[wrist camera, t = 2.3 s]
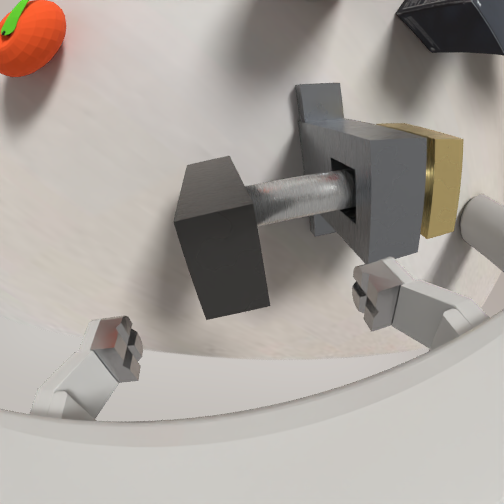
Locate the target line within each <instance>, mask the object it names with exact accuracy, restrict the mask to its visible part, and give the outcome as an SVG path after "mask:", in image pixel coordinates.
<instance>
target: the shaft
mask: <svg viewBox="0 0 504 504" xmlns="http://www.w3.org/2000/svg"><path fill="white" fill-rule="evenodd" d="M351 207H356V172H355V169H353V168H350V169H343V170H336V171H329V172H323V173H316V174H310V175H304V176H298V177H292V178H286V179H281V180H275V181H270V182H265V183H260V184H254V185H249V186H244V184H243V182H242V180H241V178H240V176H239V174H238V172H237V170H236V168H235V166H234V164H233V162H232V160H231V158H230V156H226V157H221V158H217V159H212V160H208V161H203V162H199V163H195V164H190V165H187V168H186V172H185V176H184V180H183V184H182V188H181V192H180V196H179V200H178V204H177V209H176V213H175V218H174V225H175V228H176V231H177V235H178V238H179V241H180V244H181V247H182V250H183V254H184V257H185V260H186V263H187V266H188V269H189V272H190V275H191V278H192V281H193V284H194V286H195V289H196V292H197V295H198V298H199V301H200V304H201V306H202V309H203V312H204V315H205V317H206V320H208V319H213V318H218V317H222V316H227V315H232V314H236V313H241V312H245V311H250V310H254V309H258V308H263V307H267V306H270V302H269V296H268V289H267V283H266V277H265V271H264V265H263V259H262V253H261V247H260V241H259V235H258V229H257V227H258V226H262V225H267V224H272V223H277V222H281V221H286V220H291V219H296V218H301V217H306V216H310V215H315V214H320V213H325V212H330V211H336V210H341V209H346V208H351Z"/></svg>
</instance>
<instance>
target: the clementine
mask: <svg viewBox="0 0 504 504" xmlns="http://www.w3.org/2000/svg"><path fill="white" fill-rule="evenodd" d="M28 1H29V0H22V1H20V2H19V3H18V4H17V6H16V7H15V8H14V9H13V10H12V11H11V12H10V13H8V14H7V15H6V16H5V17H4V18H3V19H2V21H1V22H0V73H1V74H4V75H6V76H10V77H21V76H25V75H28V74H31V73H33V72H35V71H37V70H38V69H40V68H41V67H43V66H44V65H46V64H47V63H48V62H49V61H50V60H51V59H52V58H53V56H54V55H55V54H56V53H57V51H58V49H59V48H60V46H61V44H62V42H63V39H64V36H65V32H66V21H65V15H64V13H63V11H62V9H61V8H60V7H59V6H58V5H56V4H55V3H54V2H51V1H46V0H34V1H29V2H28Z"/></svg>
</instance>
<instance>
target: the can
mask: <svg viewBox="0 0 504 504" xmlns="http://www.w3.org/2000/svg"><path fill="white" fill-rule="evenodd" d="M460 227H461V235H462V238H463V239H464V240H465V241H466V242H467V243H468V244H470V245H471V246H472V247H474V248H475V249H476V250H477V251H479V252H480V253H481V254H482V255H484V256H485V257H486V258H487V259H489V260H490V261H491V262H492V263H493V264H495V265H496V266H497V267H498V268H499V269H500V270H502V271H503V272H504V206H503V205H502V204H500V203H498V202H497V201H495V200H493V199H491V198H490V197H488V196H486V195H484V194H479V195H477V196H476V197H474V198H472V199H471V200H470V201H469V202H468V203H467V205H466V206H465V208H464V210H463V213H462V216H461V221H460Z"/></svg>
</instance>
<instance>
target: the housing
mask: <svg viewBox="0 0 504 504" xmlns="http://www.w3.org/2000/svg"><path fill="white" fill-rule="evenodd" d="M295 87H296V93H297V100H298V107H299V115H300V121H298V124H299V132H300V140H301V149H302V157H303V167H304V175H310V174H316V173H323V172H329V171H336V170H343V169H350V168H353V169H355V172H356V207H351V208H346V209H341V210H336V211H330V212H325V213H320V214H315V215H310V224H311V232H312V233H313V234H314V236H320V235H324V234H329V233H333V232H337V233H338V234H339V235H340V236H341V237H342V238H343V239H344V241H345V242H346V243H347V244H348V245H349V246H350V247H351V248H352V249H353V250H354V252H355V253H356V254H357V255H358V256H359V257H360V258H361V259H362V261H363V262H364V263H365V264H368V263H371V262H375V261H379V260H381V259H384V258H387V257H393V258H394V259H396V258H400V257H403V256H406V255H410V254H413V253H416V252H418V245H419V239H420V232H421V224H422V216H423V207H424V196H425V182H426V161H427V138H426V137H422V136H419V135H415V134H412V133H408V132H404V131H400V130H396V129H392V128H388V127H384V126H380V125H375V124H370V123H366V122H361V121H356V120H350V119H345V118H344V115H343V105H342V96H341V88H340V83H320V84H302V85H295Z"/></svg>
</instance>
